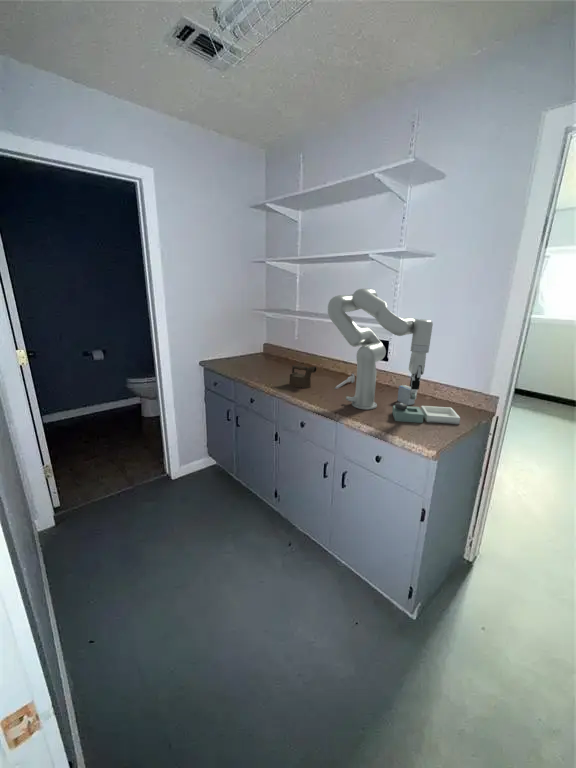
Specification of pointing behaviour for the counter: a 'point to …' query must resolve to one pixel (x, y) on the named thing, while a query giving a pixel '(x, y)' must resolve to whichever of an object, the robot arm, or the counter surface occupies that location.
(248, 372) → the counter surface
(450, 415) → the tray
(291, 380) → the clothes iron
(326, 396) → the counter surface
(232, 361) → the counter surface
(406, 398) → the medicine box
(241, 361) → the counter surface
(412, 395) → the pin
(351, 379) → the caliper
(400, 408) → the green slotted box
